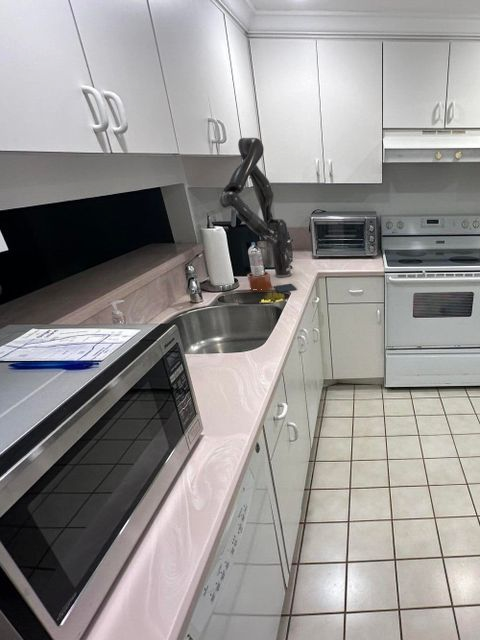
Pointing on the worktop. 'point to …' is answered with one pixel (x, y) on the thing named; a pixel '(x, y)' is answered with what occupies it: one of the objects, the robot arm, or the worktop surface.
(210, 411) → the worktop surface
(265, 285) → the pot
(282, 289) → the dish mat
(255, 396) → the worktop surface
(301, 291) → the worktop surface
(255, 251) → the water bottle
